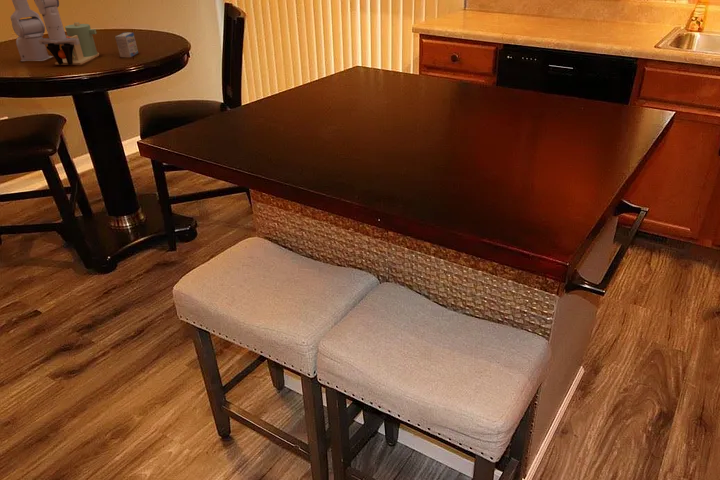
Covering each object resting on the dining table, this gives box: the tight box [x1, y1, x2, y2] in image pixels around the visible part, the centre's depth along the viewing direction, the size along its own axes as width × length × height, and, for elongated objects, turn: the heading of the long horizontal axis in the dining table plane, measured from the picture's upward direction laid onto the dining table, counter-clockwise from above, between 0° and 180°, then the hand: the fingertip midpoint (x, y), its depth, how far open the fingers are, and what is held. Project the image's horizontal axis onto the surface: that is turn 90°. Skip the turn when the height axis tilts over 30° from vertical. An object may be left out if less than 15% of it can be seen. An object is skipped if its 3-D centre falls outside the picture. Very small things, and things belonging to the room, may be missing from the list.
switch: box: [58, 36, 72, 59], centre depth 221 cm, size 11×3×3 cm, turn 179°
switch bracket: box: [54, 34, 96, 66], centre depth 225 cm, size 12×10×10 cm
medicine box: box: [114, 31, 139, 58], centre depth 234 cm, size 8×4×9 cm, turn 179°
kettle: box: [64, 21, 100, 58], centre depth 232 cm, size 12×11×13 cm
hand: (65, 64), depth 221 cm, fingers closed on switch, 3 cm apart
